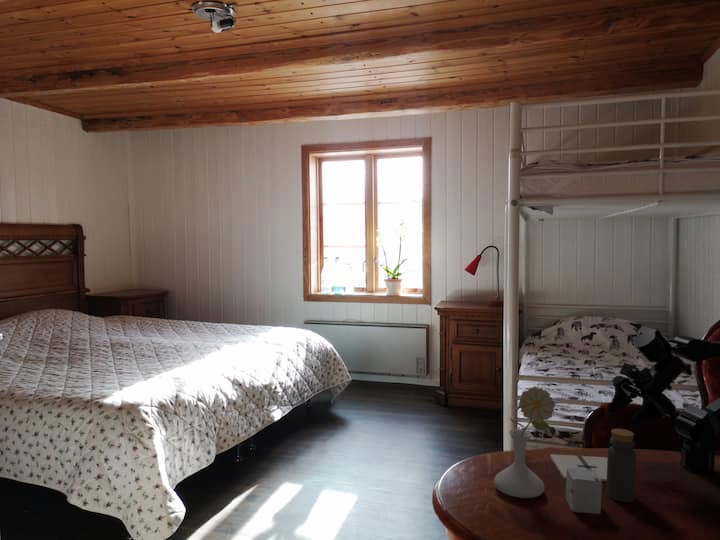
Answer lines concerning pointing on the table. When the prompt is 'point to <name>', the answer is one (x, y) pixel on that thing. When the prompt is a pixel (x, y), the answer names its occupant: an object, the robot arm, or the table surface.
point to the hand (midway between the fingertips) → (619, 418)
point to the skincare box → (583, 490)
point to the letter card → (581, 464)
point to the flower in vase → (518, 475)
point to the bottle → (621, 466)
